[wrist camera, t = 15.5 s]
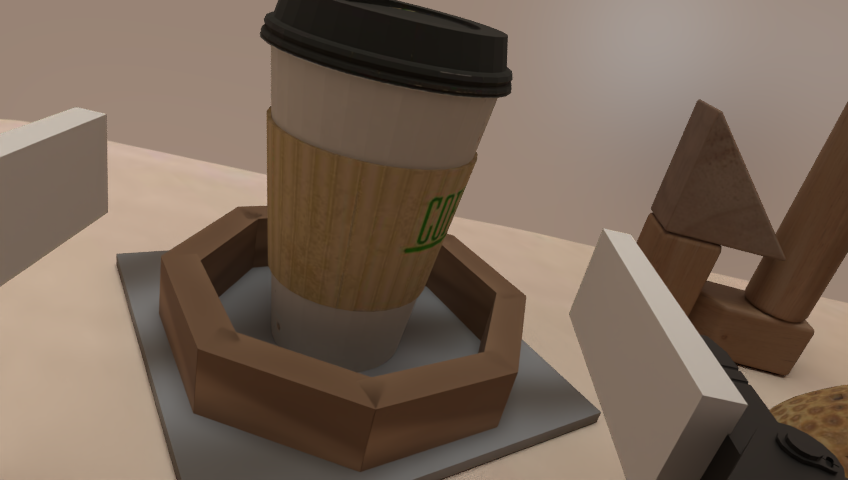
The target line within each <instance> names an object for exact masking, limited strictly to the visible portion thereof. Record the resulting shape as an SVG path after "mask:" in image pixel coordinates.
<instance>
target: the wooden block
mask: <svg viewBox="0 0 848 480" xmlns="http://www.w3.org/2000/svg"><path fill="white" fill-rule="evenodd" d="M651 210H652V211H653V213H650V214H649V216H648V218H647V220H646V222H645V224H644V227H643V229H642V232H641V234H640V236H639V238H638V240H637V245H638V246H639V247H640V249H641V250H642V252H643V253H644V255H645V256H646V258H647V259H648V261H649V262H650V263H651V265H652V266H653V268H654V269H655V271H656V272H657V274H658V275H659V276H660V278H661V279H662V281H663V282H664V284H665V285H666V287H667V288H668V290H669V291H670V292H671V294H672V295H673V297H674V298H675V300H676V301H677V303H678V304H679V305H680V307H681V308H682V310H683V311H684V313H685V314H686V316H687V317H688V319H689V320H690V321H691V323H692V324H693V326H694V327H695V329H696V330H697V332H698V333H699V334H700V335H705V336H708V337H709V338H710V339H712V340H713V341H714V342H715V343H716V344H718V345H719V346H720V347H721V348H722V349H724V350H725V351H726V352H727V353H728V355H729V356H730V357H731V359H732V360H733V361H734V362H735V363H738V364H742V365H746V366H750V367H753V368H757V369H761V370H765V371H769V372H772V373H776V374H780V375H788V374H789V373H790V371H791V369H792V368H793V366H794V365H795V363H796V362H797V360H798V358H799V357H800V355H801V354H802V352H803V350H804V349H805V347H806V346H807V344H808V342H809V341H810V339H811V338H812V336H813V335H814V329H813V328H812V327H811V326H810V325H809V324H808V322H807V321H806V320H805V319H807V318H808V316H809V315H810V313H811V311H812V310H813V308H814V306H815V305H816V303H817V302H818V300H819V298H820V297H821V295H822V293H823V292H824V290H825V288H826V287H827V285H828V284H829V282H830V280H831V279H832V277H833V276H834V274H835V272H836V271H837V269H838V267H839V266H840V264H841V262H842V261H843V259H844V258H845V256H846V254H847V253H848V102H847V104H846V106H845V108H844V110H843V111H842V113H841V115H840V117H839V119H838V121H837V122H836V124H835V126H834V128H833V130H832V132H831V133H830V135H829V137H828V139H827V141H826V143H825V145H824V146H823V148H822V150H821V152H820V154H819V155H818V157H817V159H816V161H815V163H814V165H813V167H812V168H811V170H810V172H809V174H808V176H807V177H806V179H805V181H804V183H803V185H802V187H801V188H800V190H799V192H798V194H797V196H796V197H795V200H794V201H793V203H792V205H791V207H790V208H789V210H788V212H787V214H786V216H785V218H784V220H783V221H782V223H781V225H780V227H779V229H778V230H777V232H776V234H775V232H774V230H773V228H772V226H771V223H770V221H769V219H768V216H767V214H766V212H765V209H764V207H763V205H762V203H761V200H760V198H759V195H758V193H757V191H756V188H755V186H754V184H753V182H752V179H751V177H750V175H749V173H748V170H747V168H746V165H745V163H744V161H743V158H742V156H741V154H740V152H739V149H738V147H737V145H736V142H735V140H734V138H733V135H732V133H731V131H730V128H729V126H728V124H727V122H726V119H725V117H724V115H723V112H722V111H720V110H718V109H716V108H715V107H713V106H711V105H709V104H707V103H705V102H704V101H702V100H698V101H697V103H696V105H695V107H694V110H693V112H692V114H691V117H690V119H689V121H688V124H687V126H686V128H685V131H684V133H683V136H682V137H681V140H680V142H679V145H678V147H677V149H676V151H675V154H674V156H673V158H672V161H671V163H670V165H669V168H668V170H667V172H666V175H665V177H664V179H663V181H662V184H661V186H660V188H659V191H658V193H657V195H656V198H655V200H654V202H653V204H652V207H651ZM721 245H722V246H726V247H730V248H734V249H738V250H741V251H745V252H749V253H753V254H757V255H761V256H763V258H762V260H761V262H760V263H759V265H758V267H757V269H756V271H755V273H754V274H753V276H752V278H751V280H750V282H749V284H748V285H747V287H746V290H745V291H744V290H740V289H737V288H733V287H729V286H725V285H721V284H717V283H714V282H710V281H706V280H707V278H708V276H709V274H710V272H711V271H712V269H713V267H714V264H715V262H716V261H717V259H718V257H719V255H720V253H721Z"/></svg>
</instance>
